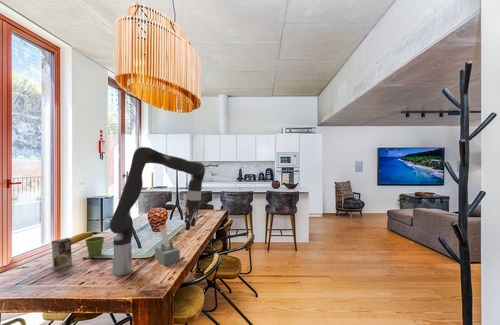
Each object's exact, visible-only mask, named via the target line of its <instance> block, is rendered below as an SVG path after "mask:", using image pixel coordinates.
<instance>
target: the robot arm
mask: <svg viewBox="0 0 500 325" xmlns="http://www.w3.org/2000/svg"><path fill="white" fill-rule="evenodd" d="M146 164H158V165H162V166H165V167H167V168H169V169H170V170H171V169H172V170H175V171H179V172H183V173H186V174H189V175H190V176H191V175H192V176H191V179H190V180H189V182H188V187H187V188H188V189H187V193H186V201H185V207H186V208H188V210H185V216H184V223H185V228H184V229H185V231H190V229H191V227H193V228H195V226H196V220H197V219H198V215H199V214H198V213H199V209H200V207H201V200H202V199H201V198H202V186H203V181H204V177H205V172H206V168H205V164H203V163H201V162H196V161H195V162H194V161H190V160H188V159H186V158H183V157H178V156H174V155H173V156H172V155H170V154H169V155H168V154H165V153H162V152H159V151H157V150H155V149H153V148H151V147H147V146H141V147H140V146H139V147H138V148H136V149H135V150H134V152H133V155H132V160H131V165H130V169H129V172H128V175H127V178H126V180H125V183H124V186H123V188H122V192H121V196H120V198H119V201H118V204H117V206H116V208H115V211H114V212H113V215H112V217H111V219H110V222H109V228H110V231H111V232H112V233H114V234H116V235H115V237H114V238H113V256H112V274H114V275H115V276H118V277H119V276H120V277H121V276H126V275H129V274H131V273H132V272H133V257H132V256H133V254H132V239H133V233H134V229H133V228H134V222H133V219H132V217H131V215H129V214H130V213H129V212H130V210H131V209H132V208H133V206H134V205H135V204H136V203H137V201H138V199H139V197H140V195H141V192H142V190H143V185H144V184H143V182H144V181H143V172H144V168H145V166H146Z"/></svg>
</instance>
